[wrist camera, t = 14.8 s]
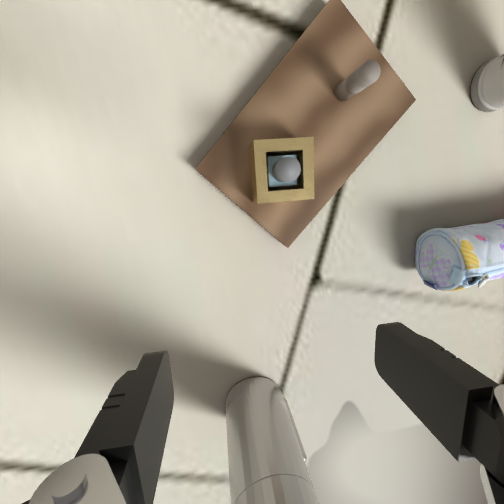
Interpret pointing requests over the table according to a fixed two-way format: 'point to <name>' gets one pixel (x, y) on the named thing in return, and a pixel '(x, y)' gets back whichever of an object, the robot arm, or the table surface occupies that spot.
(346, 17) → the workboard
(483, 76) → the travel mug
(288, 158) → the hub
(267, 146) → the collar
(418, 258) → the pencil case
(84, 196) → the table surface
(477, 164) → the table surface
